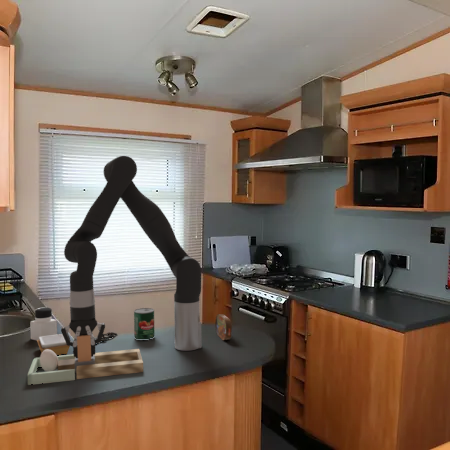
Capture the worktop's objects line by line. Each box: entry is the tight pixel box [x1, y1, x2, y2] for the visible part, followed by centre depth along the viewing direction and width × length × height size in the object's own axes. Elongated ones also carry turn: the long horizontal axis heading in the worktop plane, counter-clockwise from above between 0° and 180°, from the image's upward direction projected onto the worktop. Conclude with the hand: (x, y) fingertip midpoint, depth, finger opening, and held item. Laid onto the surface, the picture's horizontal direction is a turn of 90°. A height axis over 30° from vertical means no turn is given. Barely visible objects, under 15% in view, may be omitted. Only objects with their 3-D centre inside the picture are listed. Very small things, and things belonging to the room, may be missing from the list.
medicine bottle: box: [29, 306, 58, 342], centre depth 181 cm, size 7×7×12 cm
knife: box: [94, 331, 118, 342], centre depth 174 cm, size 25×6×1 cm, turn 154°
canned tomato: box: [133, 307, 156, 339], centre depth 180 cm, size 8×8×11 cm
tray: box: [26, 353, 76, 386], centre depth 144 cm, size 13×15×3 cm
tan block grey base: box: [75, 335, 95, 374], centre depth 147 cm, size 6×6×11 cm
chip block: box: [57, 359, 75, 371], centre depth 146 cm, size 5×5×3 cm
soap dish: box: [36, 333, 71, 356], centre depth 164 cm, size 12×10×5 cm
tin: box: [214, 313, 233, 341], centre depth 181 cm, size 15×3×8 cm, turn 16°
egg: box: [39, 349, 59, 372], centre depth 144 cm, size 5×5×7 cm
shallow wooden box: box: [76, 348, 144, 380], centre depth 149 cm, size 20×14×3 cm
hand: (84, 356), depth 147 cm, fingers closed on tan block grey base, 4 cm apart
